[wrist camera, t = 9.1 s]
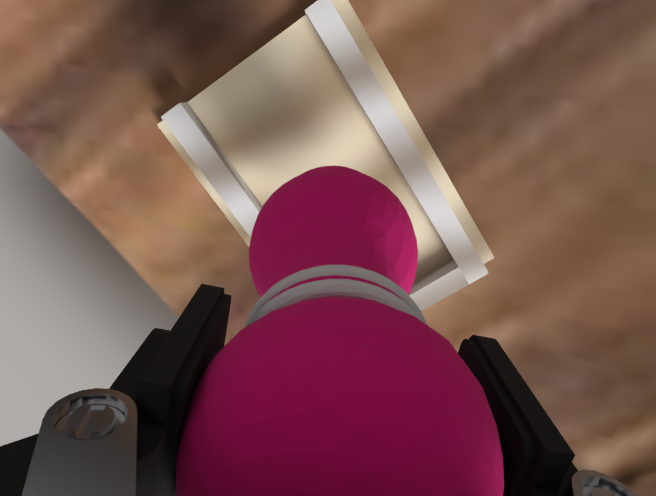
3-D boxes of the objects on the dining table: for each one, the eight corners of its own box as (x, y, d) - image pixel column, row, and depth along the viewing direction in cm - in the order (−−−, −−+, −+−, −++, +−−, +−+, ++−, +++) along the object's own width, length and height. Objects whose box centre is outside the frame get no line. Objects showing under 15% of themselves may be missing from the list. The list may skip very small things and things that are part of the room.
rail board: (162, 123, 29) (147, 126, 27) (340, -9, 27) (341, -18, 25) (328, 344, 35) (328, 363, 33) (489, 253, 32) (502, 265, 30)
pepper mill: (235, 220, 24) (-145, 738, 5) (336, 124, 22) (383, 317, 3) (328, 311, 25) (328, 956, 6) (428, 227, 24) (824, 760, 5)
